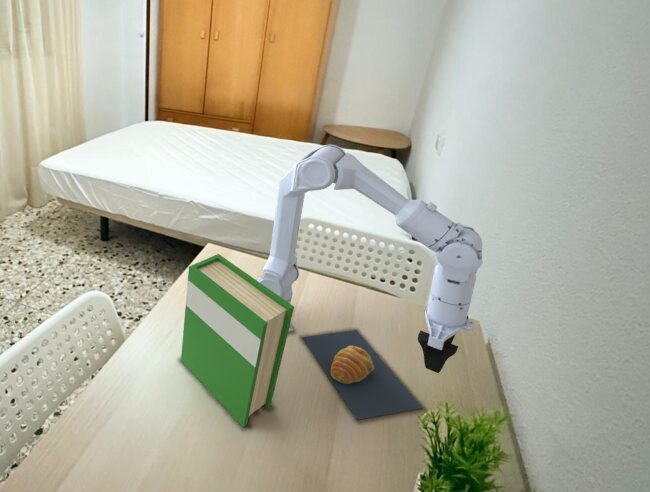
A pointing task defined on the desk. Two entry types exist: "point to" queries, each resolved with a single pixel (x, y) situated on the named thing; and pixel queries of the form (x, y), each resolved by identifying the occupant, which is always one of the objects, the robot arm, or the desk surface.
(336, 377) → the pastry
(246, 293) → the hardback book
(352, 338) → the napkin
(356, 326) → the desk surface
